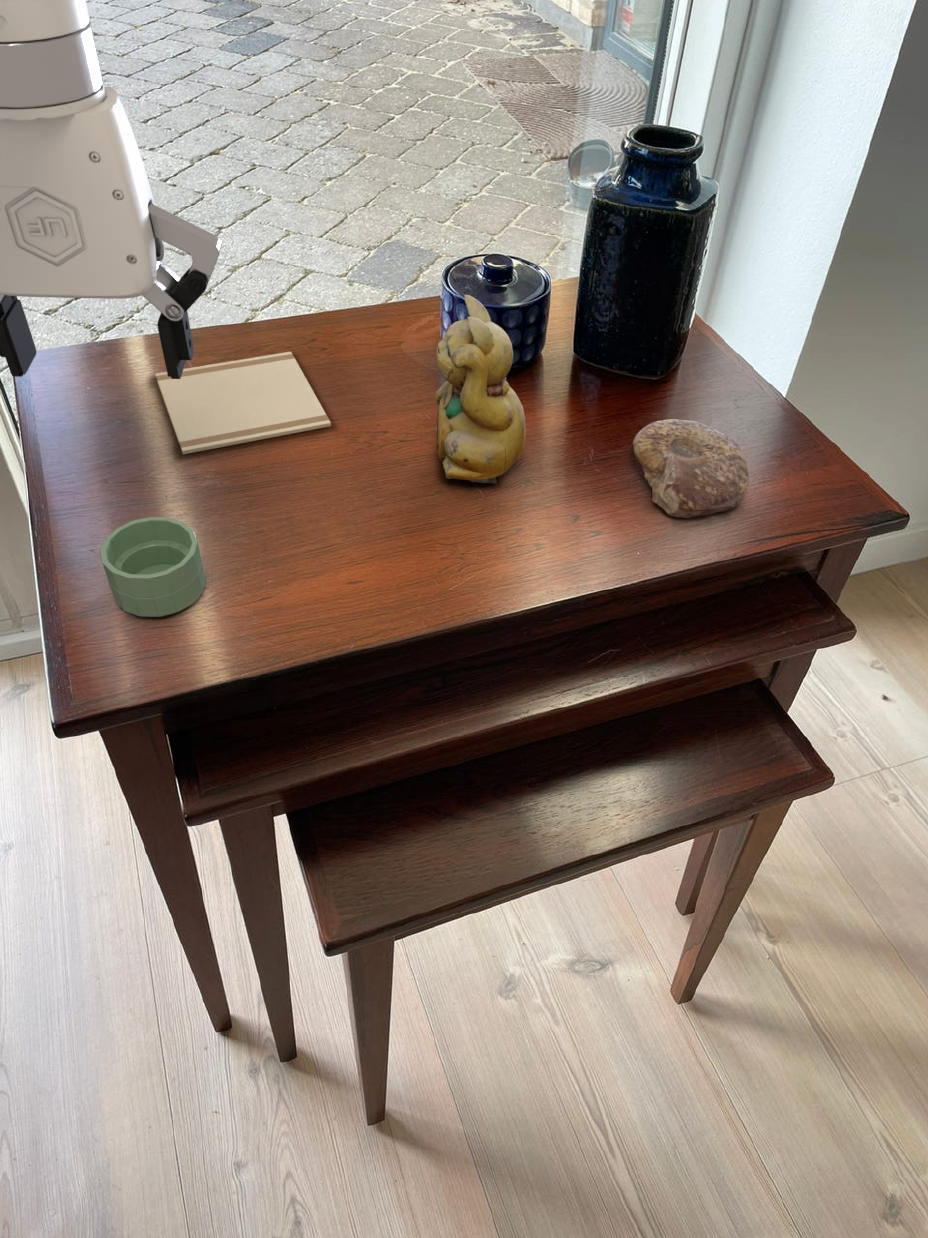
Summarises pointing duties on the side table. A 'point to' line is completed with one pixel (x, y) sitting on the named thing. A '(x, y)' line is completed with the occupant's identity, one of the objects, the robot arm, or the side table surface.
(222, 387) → the cloth
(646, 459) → the fossil
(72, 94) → the robot arm
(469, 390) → the decorative figurine
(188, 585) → the bowl
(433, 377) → the side table surface
